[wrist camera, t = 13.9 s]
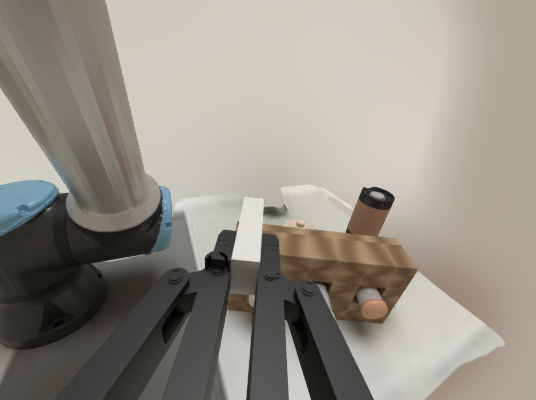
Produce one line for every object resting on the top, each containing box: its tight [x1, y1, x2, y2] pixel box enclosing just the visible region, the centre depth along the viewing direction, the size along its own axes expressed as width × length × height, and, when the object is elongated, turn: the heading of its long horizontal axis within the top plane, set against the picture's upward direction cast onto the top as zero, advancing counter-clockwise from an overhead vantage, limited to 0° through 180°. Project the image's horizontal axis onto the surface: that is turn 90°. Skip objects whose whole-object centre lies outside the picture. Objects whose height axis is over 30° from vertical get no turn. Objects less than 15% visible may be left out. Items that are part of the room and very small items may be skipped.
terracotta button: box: [356, 286, 388, 319], centre depth 42 cm, size 4×7×4 cm, turn 179°
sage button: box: [312, 281, 336, 321], centre depth 39 cm, size 4×7×4 cm, turn 179°
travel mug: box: [346, 187, 395, 237], centre depth 58 cm, size 8×8×20 cm
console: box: [228, 221, 418, 323], centre depth 44 cm, size 32×8×16 cm, turn 89°
